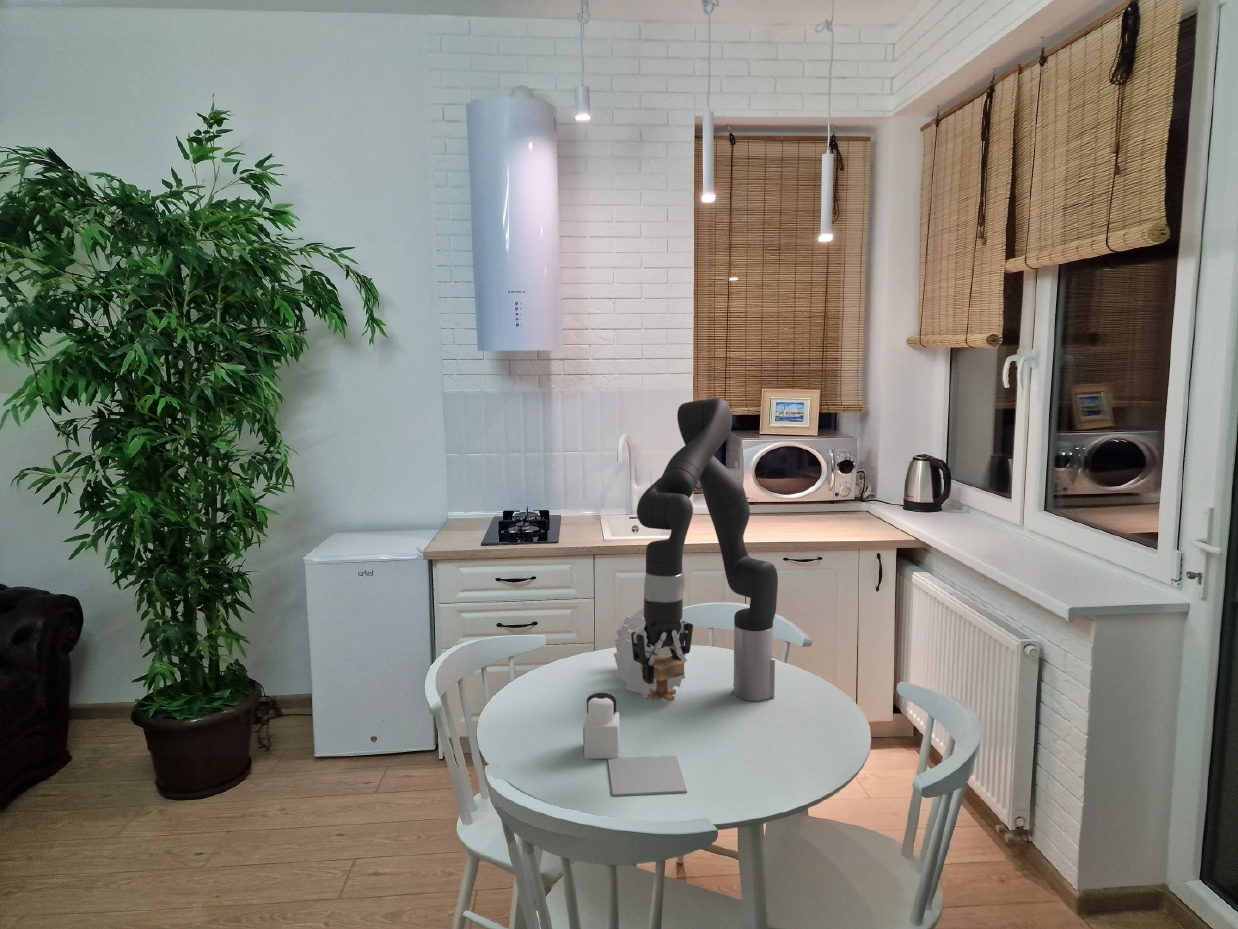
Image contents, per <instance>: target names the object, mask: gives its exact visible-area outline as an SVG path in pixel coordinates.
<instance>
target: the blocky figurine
mask: <svg viewBox="0 0 1238 929" xmlns="http://www.w3.org/2000/svg"><path fill="white" fill-rule="evenodd" d="M582 729H583V730H582V731H583V733H582V734H583V738H582V739H583V740H582V741H583V758H584V759H585V760H608V758H620V757H619V756H620V755H619V754H620V742H621V740H620V738H621V736H620V735H621V734H620V732H621V731H620V713H619V712H618V711H617V698H616V697H615V696H614V695H613V694H611V693H608V692H596V693H593V694H590V695H589V696H588V697H587V698H586V712H585V715H584V722H583V728H582Z"/></svg>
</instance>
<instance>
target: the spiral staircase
mask: <svg viewBox="0 0 1238 929" xmlns="http://www.w3.org/2000/svg"><path fill="white" fill-rule="evenodd" d="M644 627H645V619H644V607H642V608H640V609H639V610H637V611H636V612H635V613H633V614H632V615H630V616H629V615H626V616H625V618H624V621H623V622H622V625H621V627H620V628H617V629H615V631H616V635H617V638H615V639H614V641H615V643H614V644H615V648H616V652H614V653H613V656H614V659H615V661H614V663H616V666H617V670H616V671H615V672H614V673H615V675H616V676H617V677H619V679H621V680H622V681H623V682H624V683H625V684H626V688H625V690H627V691H632V692H635V693H637V694H638V693H640V694H642V696H643V699H645V698H648V694H651V693H650V692H649V689H650V688H652V687H656V679H654V683H653V684H648V683H646V682H645V681H644V680H643V678H642V675H643V674H642V672H641V664H640V663H638V662H636V661H634V659H633V650H632V640H631V634H632V632H636V633H638V632H641V631H643V630H644ZM679 633H680V632H679ZM646 639H647V638H645V640H646ZM678 639H679V634H678ZM644 644H645V643H644ZM651 648H652V649H653V648H654V646H652V645H651ZM664 654H665V655H667V656H672V655H671V653H670V651H669V648H668V647H667V646H665V647H664V648H661V649H660V652H659V654H658V655H656V656H660V655H664ZM649 656H650V654H649ZM649 656H648V658H649ZM686 656H687V653H685V654H684V655H683V657H682V658H681V662H683V663H684V664H685V663H686V662H687V661H688V659H687V658H686ZM685 674H686V672H684V675H681V676H679V677H674V678H670V679H668V689H669V688H673V689H674V687H677V688H680V686H681V683H682V680H683V679H684V680H685V679H686V677H685V676H686V675H685Z"/></svg>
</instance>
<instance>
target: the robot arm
mask: <svg viewBox="0 0 1238 929" xmlns="http://www.w3.org/2000/svg"><path fill="white" fill-rule="evenodd" d="M676 415H677V416H676V417H677V418H676V419H677V425H678V428H679V433H680V436H681V438H682V441H683V443H684V446H682V447H681V448H680V449H679V450H677V451H676V453H674V454H673V456H672V457H671V458H670V460H669V461H668V463H667V465H666V467H665V469H664V471H663V473H662V475H661V477H659V478H658V479H657V480H656V481H655V482H654V483H652V484H651V486H649V487H648V488H647V489H646V490H645V491H644V492H643V493H642V495H641V497H640V498H639V500H638V503H637V508H636V517H637V520H638V521H639V524H641V525H642V526H643V527H644V528H647V529H655V530H663V531H664V530H665V531H666V530H668V531H670V535H669V536H668V538H666V539H659V540H658V539H657V540H653V541H651V542H649V543H648V544H647V546H646V547H645V548H646V549H645V575H644V576H645V577H644V583H643V584H644V585H643V608H644V619H645V627H644V630H643V631H641V632H638V633H636V632H632V634H631V640H632V650H633V659H634V661H636V662H638V663H640V664H642V672H643V673H642V674H643V675H642V678H643V680H644V681H645V682H646V683H648V684H653V683H654V665H653V663H654V660H655V657H656V655H658V654H659V652H660V649H661V648H664V647H665V646H667V647H668V648H669V651H670V653H671V655H672V656H670V657H671V658H673V659H676V660H679V661H681V658H682V657H683V655H684V654H685V653H686V654H689V653H690V652H691V645H692V640H693V639H692V638H693V637H692V636H693V630H694V625H693V624H692V623H690V622H688V621H685V620H682V619H683V611H684V610H683V609H684V608H683V606H684V604H683V603H684V600H683V598H684V582H683V580H684V579H683V552H684V547H685V541H686V538H687V534H688V532H689V528H690V525H691V522H692V518H693V515H694V507H693V502H692V500H691V499H690V498H691V497H692V495H693V493H694V492H695V489H696V487H697V484H698V482H699V483H700V486H701V489H702V493H703V496H704V501H705V504H706V507H707V510H708V512H709V516H710V519H711V522H712V525H713V527H714V531H715V534H716V535H715V536H716V538H717V542H718V544H719V548H720V552H721V557H722V562H723V569H724V572H725V577H726V581H727V584H728V586H729V589H730V590H732V592H733V593H735V594H736V595H739V596H742V597H746V598H750V602H749V607H746V608H742V609H740V610H737V611H736V612H735V614H734V617H733V618H734V620H733V625H734V626H733V684H732V686H733V695H734V696H735V697H737V698H738V699H741V700H744V701H749V702H750V701H751V702H759V701H760V702H761V701H766V700H768V699H770V698H772V699H773V698H775V689H776V688H775V685H776V684H775V681H776V680H775V678H776V677H775V676H776V674H775V673H776V671H775V670H776V659H775V658H774V656H773V652H774V648H773V647H774V639H773V638H774V619H775V616H776V614H777V603H778V602H777V601H778V590H779V589H778V586H779V576H778V571H777V568H776V566H775V565H774V564H773V563H772V562H770V561H769V562H768V561H766V560H765V561H764V560H761V559H756V558H753V557H750V555H749V553H748V551H747V548H746V545H745V540H744V534H745V531H746V529H747V526H748V523H749V521H750V515H751V509H750V504H749V500H748V498H747V495H746V491H745V487H744V486H743V483H742V482H741V480H740V479H739V478H738V477H737V476H736V475H735V474H734V473H733V472H732V471H731V470H729V468H727V467H726V466H725V465H724V464H723V463H721V461H720V460H718V458H717V457H715V454H716V453H717V452H718V451H719V449H720V448H721V446H722V445H723V444H724V443H725V441H726V440H727V438H728V437H729V435H730V433H731V430H732V427H733V414H732V410H731V407H730V405H729V404H728V402H727V401H726V400H725V399H723V398H720V397H714V398H706V399H701V400H693V401H687V402H684V403H682V404H680V405H679V407H678V409H677V414H676ZM679 632H680V633H679ZM678 634H679V639H678ZM645 638H647V639H646V640H645ZM644 643H645V644H644ZM651 645H652V646H654V648H653V649H652V648H651ZM649 654H650V656H649ZM648 656H649V658H648ZM678 677H679V676H678Z"/></svg>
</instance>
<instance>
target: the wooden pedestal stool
mask: <svg viewBox="0 0 1238 929" xmlns="http://www.w3.org/2000/svg"><path fill="white" fill-rule="evenodd" d="M653 665H654V679H656V687H652V688H650V689H649V692H650V693H651V694H648V697H647V699H648V700H650V701H656V700H659V699H662V700H664V701H667V702H669V703H670V702H673V701H675V695H676V694H677V690H676V689H674V687H673V688H669V689H668V679H670V678H674V677H678V676H681V675H684V673H685V663H683V662H681V661H679V660H676V659H673V658H671V657H670V656H667V655H665V654H664V655H660V656H656V657H655V660H654V663H653ZM641 672H642V664H641ZM642 673H643V672H642Z"/></svg>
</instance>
